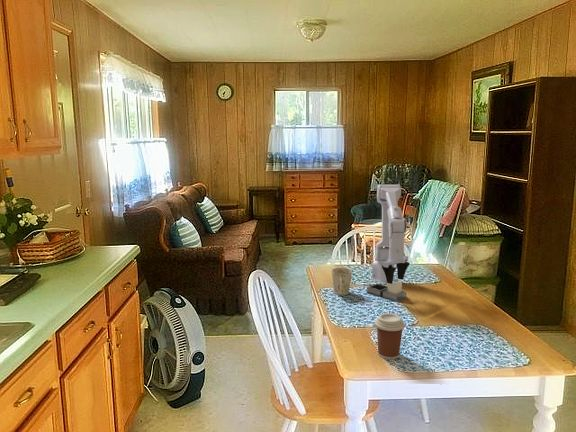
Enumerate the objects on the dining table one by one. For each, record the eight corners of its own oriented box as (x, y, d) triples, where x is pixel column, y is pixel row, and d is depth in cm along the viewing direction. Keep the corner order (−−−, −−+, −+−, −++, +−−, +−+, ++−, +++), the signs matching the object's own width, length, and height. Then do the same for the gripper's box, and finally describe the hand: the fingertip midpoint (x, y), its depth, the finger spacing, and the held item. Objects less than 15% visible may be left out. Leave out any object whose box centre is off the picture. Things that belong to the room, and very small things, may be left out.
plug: (387, 297, 197) (388, 278, 196) (393, 294, 200) (393, 276, 199) (395, 299, 195) (396, 281, 193) (401, 297, 197) (402, 278, 196)
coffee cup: (399, 347, 154) (400, 311, 151) (407, 361, 145) (409, 323, 143) (370, 347, 153) (372, 312, 151) (376, 361, 144) (378, 323, 142)
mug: (351, 290, 207) (351, 268, 205) (352, 300, 195) (352, 277, 193) (331, 289, 208) (331, 267, 206) (331, 300, 195) (331, 276, 194)
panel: (365, 293, 203) (365, 287, 202) (377, 289, 209) (377, 282, 208) (395, 303, 192) (395, 296, 191) (407, 298, 198) (408, 291, 197)
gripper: (394, 253, 186) (392, 287, 188) (415, 247, 196) (413, 279, 198) (379, 250, 191) (378, 283, 193) (400, 244, 201) (399, 275, 203)
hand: (395, 281), depth 196 cm, fingers open, 7 cm apart
